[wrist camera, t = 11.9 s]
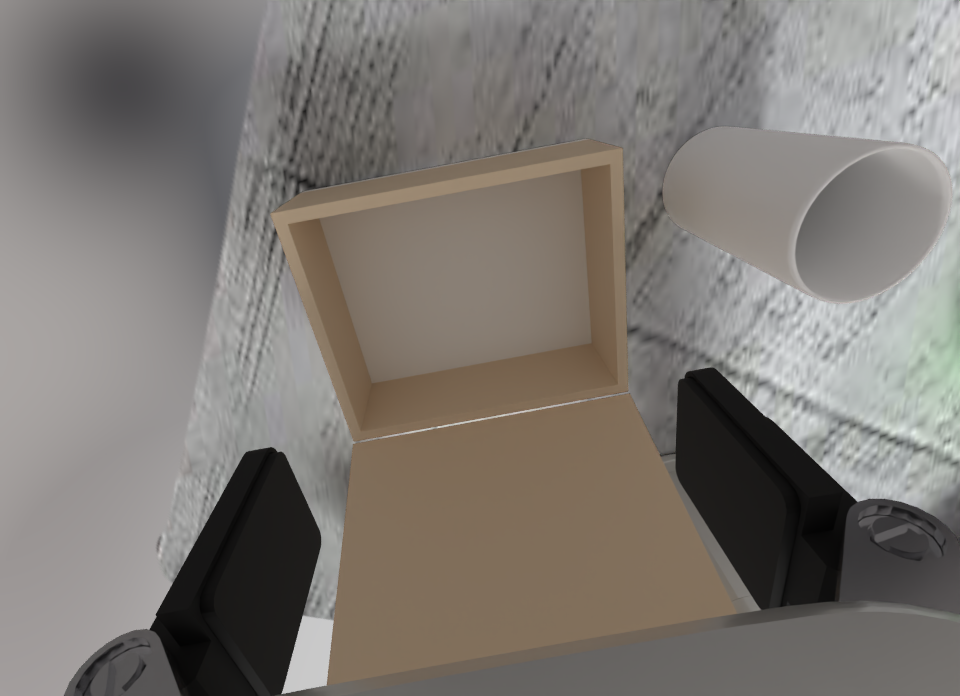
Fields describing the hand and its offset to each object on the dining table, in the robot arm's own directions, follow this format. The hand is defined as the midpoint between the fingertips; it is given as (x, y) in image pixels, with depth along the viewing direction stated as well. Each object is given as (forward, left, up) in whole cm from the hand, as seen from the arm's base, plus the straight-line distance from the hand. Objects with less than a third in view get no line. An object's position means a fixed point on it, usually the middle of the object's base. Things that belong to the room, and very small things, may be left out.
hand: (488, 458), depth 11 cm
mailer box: (0, +6, -30) cm, 31 cm away
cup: (-21, +2, -30) cm, 37 cm away
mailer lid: (0, +17, -13) cm, 21 cm away
